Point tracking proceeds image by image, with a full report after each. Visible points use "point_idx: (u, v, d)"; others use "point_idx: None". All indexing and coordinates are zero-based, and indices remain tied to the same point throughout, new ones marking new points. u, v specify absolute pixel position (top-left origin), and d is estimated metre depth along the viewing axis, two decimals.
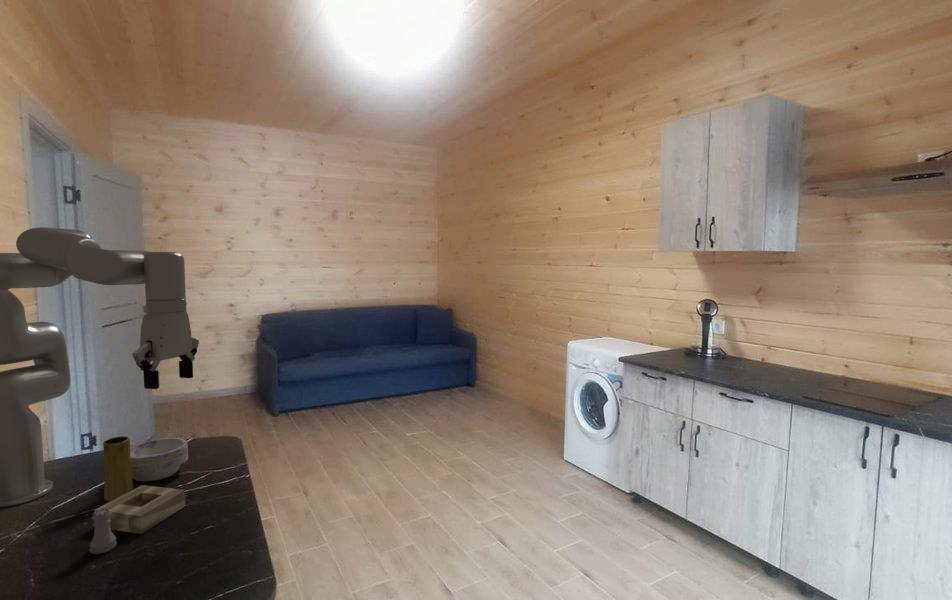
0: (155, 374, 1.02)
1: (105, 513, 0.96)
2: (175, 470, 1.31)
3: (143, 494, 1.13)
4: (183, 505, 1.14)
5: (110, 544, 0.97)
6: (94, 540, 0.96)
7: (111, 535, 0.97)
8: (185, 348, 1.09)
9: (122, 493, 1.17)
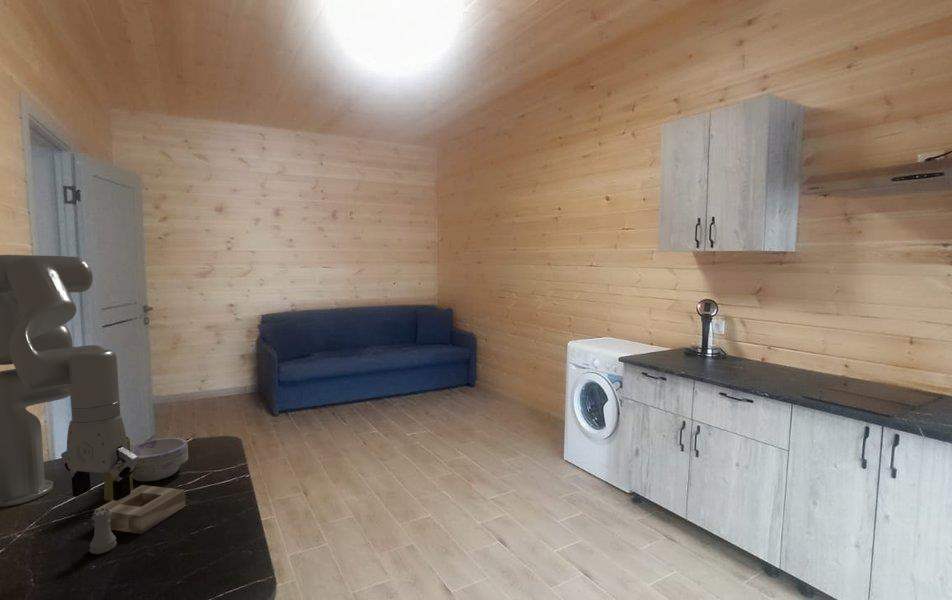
0: (128, 478, 0.96)
1: (105, 513, 0.96)
2: (175, 470, 1.31)
3: (143, 494, 1.13)
4: (183, 505, 1.14)
5: (110, 544, 0.97)
6: (94, 540, 0.96)
7: (111, 535, 0.97)
8: None
9: None
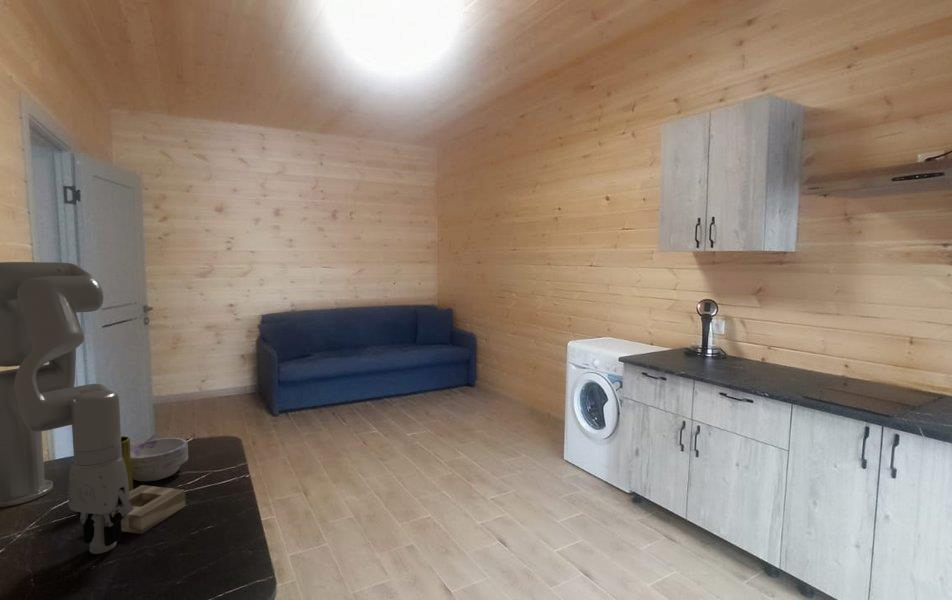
0: (120, 523, 0.98)
1: None
2: (175, 470, 1.31)
3: (143, 494, 1.13)
4: (183, 505, 1.14)
5: None
6: (94, 540, 0.96)
7: None
8: None
9: None
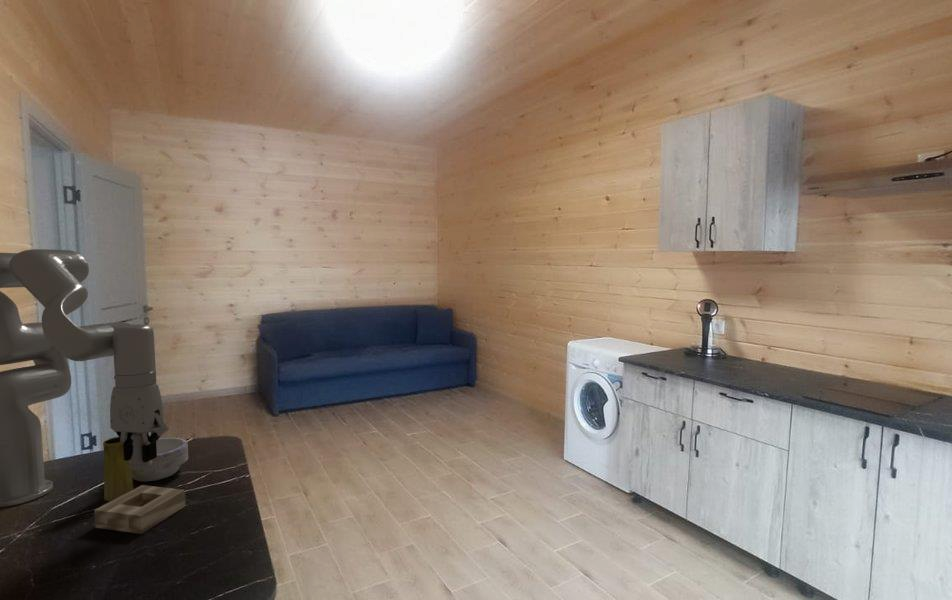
0: (155, 443, 1.09)
1: None
2: (175, 470, 1.31)
3: (143, 494, 1.13)
4: (183, 505, 1.14)
5: None
6: (133, 457, 1.07)
7: None
8: None
9: (122, 493, 1.17)
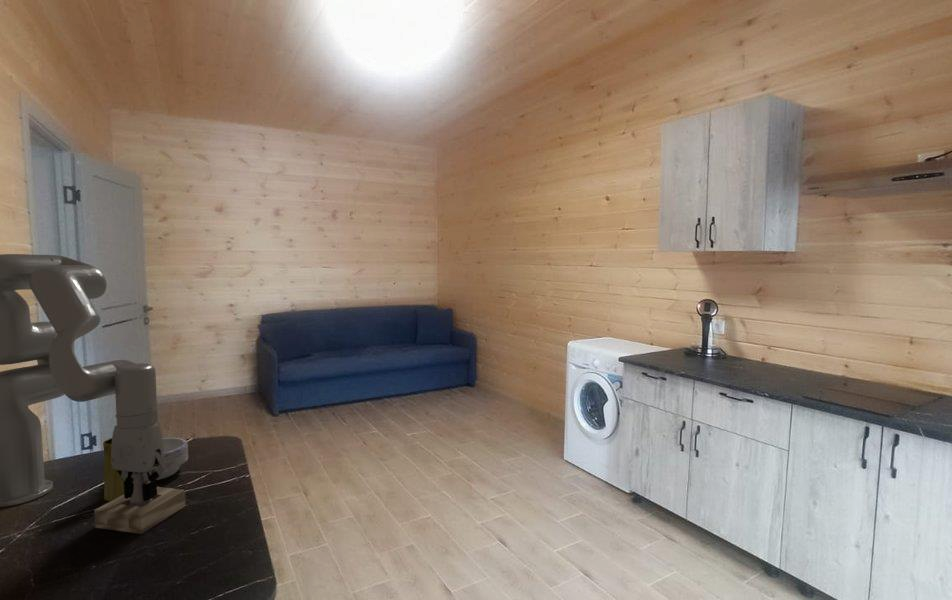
0: (155, 481, 1.10)
1: None
2: (175, 470, 1.31)
3: None
4: (183, 505, 1.14)
5: (147, 500, 1.09)
6: (133, 496, 1.08)
7: None
8: None
9: (122, 493, 1.17)
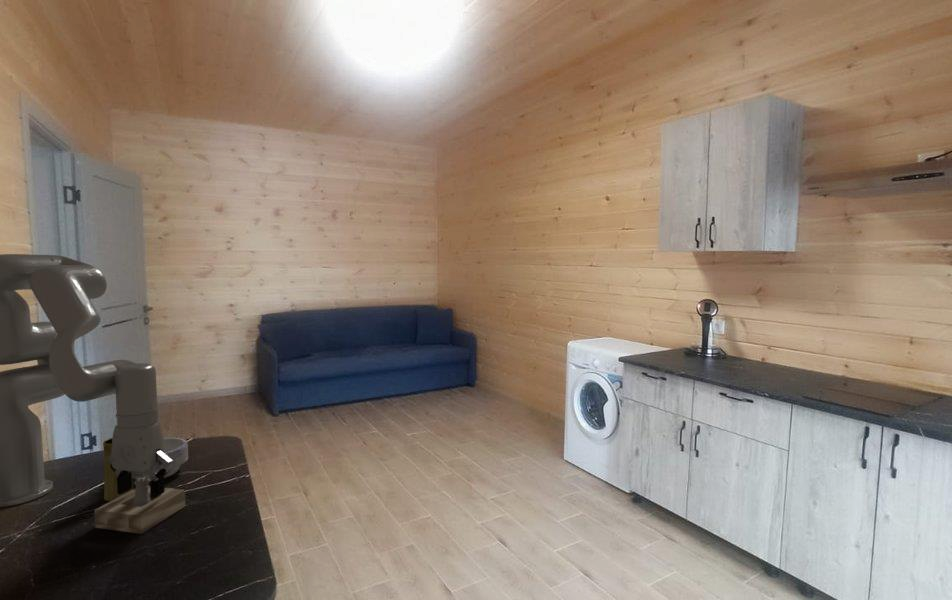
0: None
1: (145, 479, 1.09)
2: (175, 470, 1.31)
3: None
4: (183, 505, 1.14)
5: None
6: (134, 503, 1.08)
7: (149, 500, 1.10)
8: None
9: (122, 493, 1.17)
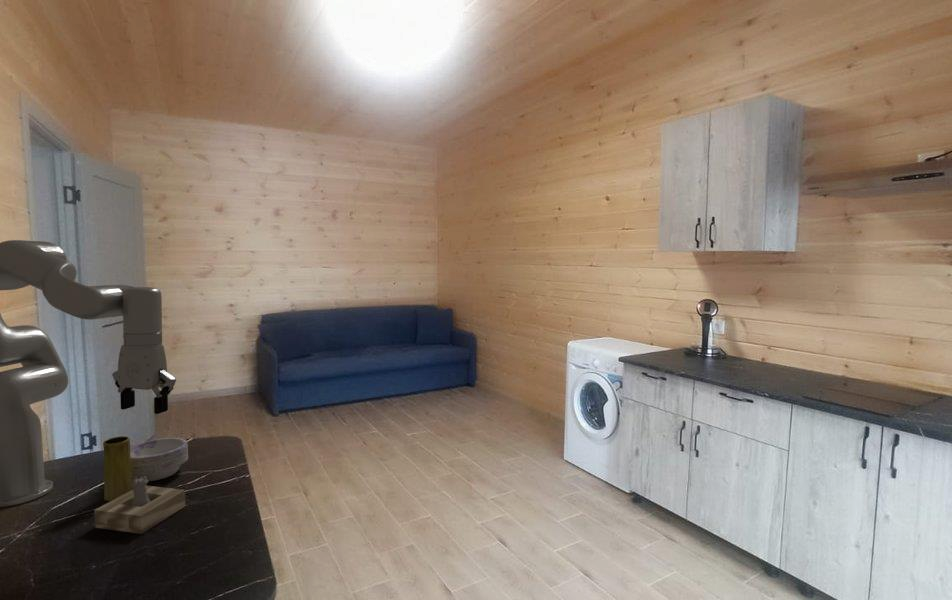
0: (167, 397, 1.14)
1: (143, 480, 1.09)
2: (175, 470, 1.31)
3: None
4: (183, 505, 1.14)
5: None
6: (133, 504, 1.08)
7: (148, 500, 1.10)
8: None
9: (122, 493, 1.17)
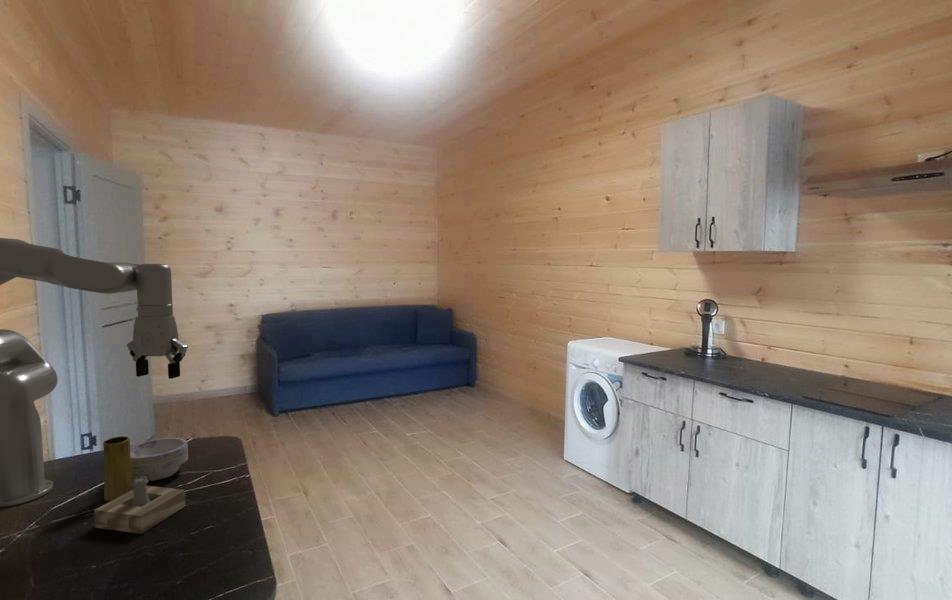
0: None
1: (143, 480, 1.09)
2: (175, 470, 1.31)
3: None
4: (183, 505, 1.14)
5: None
6: (133, 504, 1.08)
7: (148, 500, 1.10)
8: None
9: (122, 493, 1.17)
